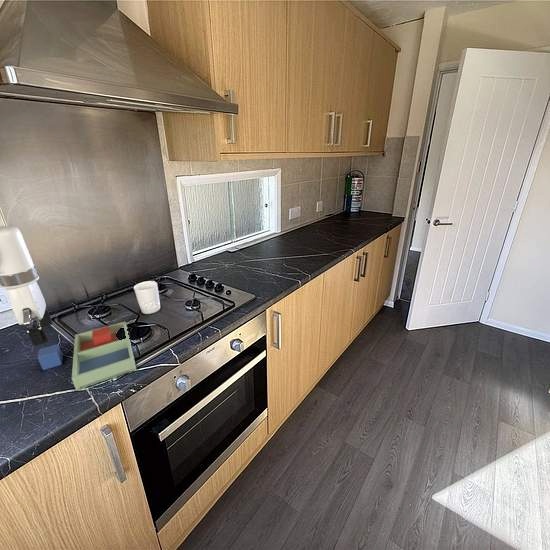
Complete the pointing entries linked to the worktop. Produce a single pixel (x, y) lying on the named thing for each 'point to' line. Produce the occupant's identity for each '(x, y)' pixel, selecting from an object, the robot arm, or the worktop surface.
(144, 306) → the white cup
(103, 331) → the red block
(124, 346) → the tray
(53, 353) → the blue block
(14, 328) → the worktop surface
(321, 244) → the worktop surface
